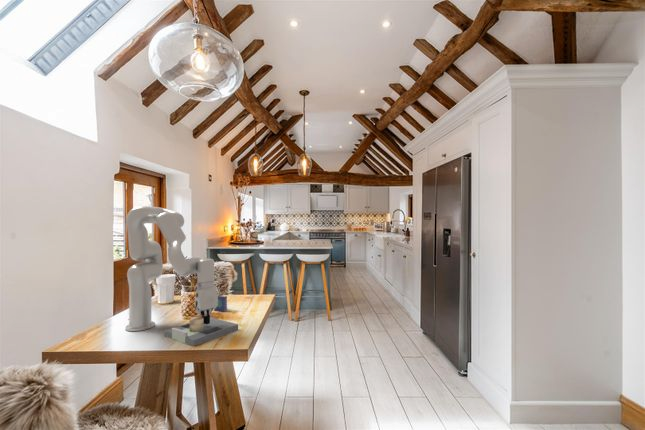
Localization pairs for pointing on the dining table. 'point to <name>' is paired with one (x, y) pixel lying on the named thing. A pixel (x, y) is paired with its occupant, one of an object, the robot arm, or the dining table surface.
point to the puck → (196, 324)
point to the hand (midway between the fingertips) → (206, 323)
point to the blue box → (221, 303)
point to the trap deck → (201, 332)
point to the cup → (165, 288)
